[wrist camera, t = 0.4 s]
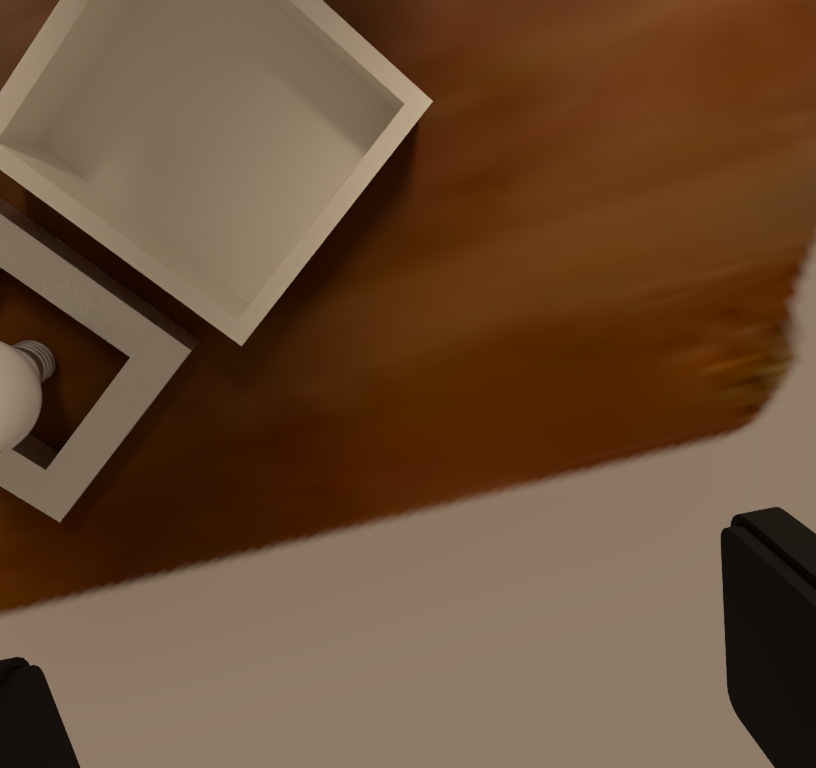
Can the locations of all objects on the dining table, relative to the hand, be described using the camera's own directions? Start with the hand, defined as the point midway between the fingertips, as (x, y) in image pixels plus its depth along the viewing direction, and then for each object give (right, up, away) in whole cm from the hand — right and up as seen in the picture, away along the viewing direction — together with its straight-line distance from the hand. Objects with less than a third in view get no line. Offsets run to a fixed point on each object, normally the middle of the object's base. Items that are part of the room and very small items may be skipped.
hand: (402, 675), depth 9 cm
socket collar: (-23, +6, +33) cm, 41 cm away
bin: (-10, +18, +30) cm, 37 cm away
